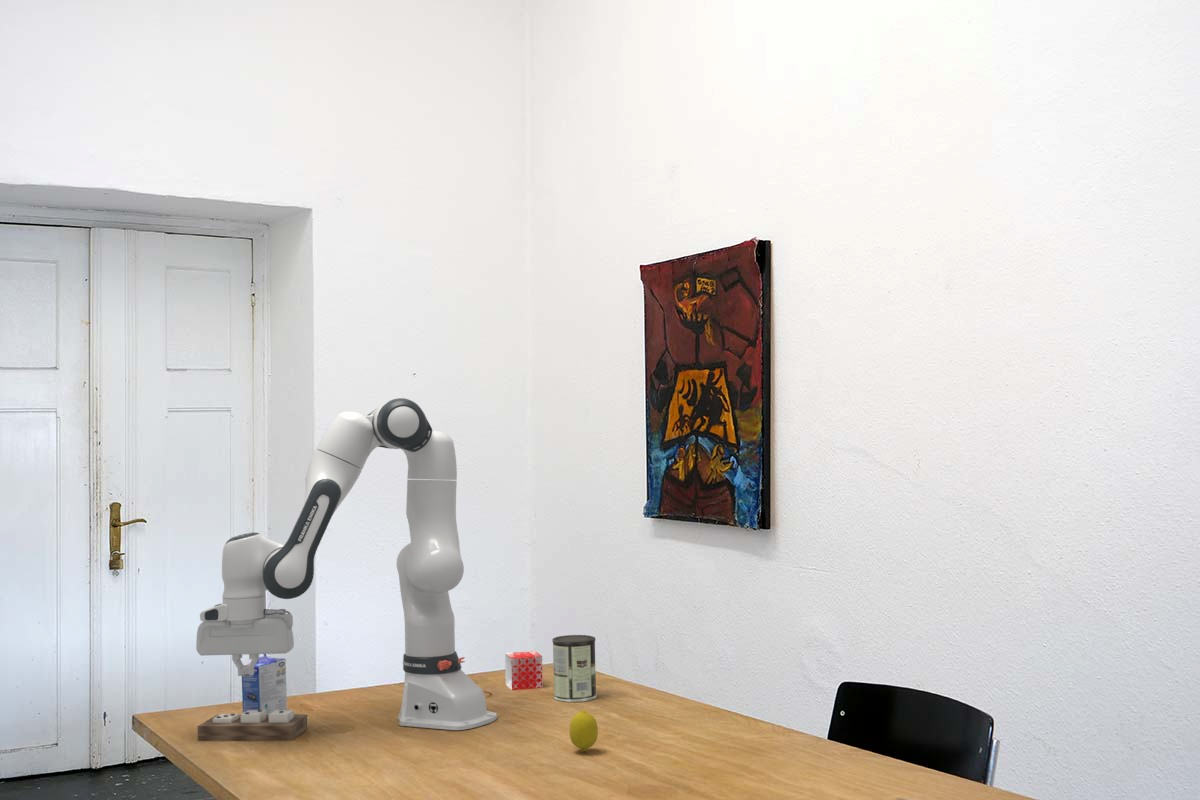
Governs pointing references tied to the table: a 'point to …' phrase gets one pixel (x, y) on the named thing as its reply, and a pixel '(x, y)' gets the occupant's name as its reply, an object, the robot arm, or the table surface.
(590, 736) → the lemon
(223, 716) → the button three
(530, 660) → the red and white cube
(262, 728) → the button panel
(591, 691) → the coffee can
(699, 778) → the table surface
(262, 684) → the ink cartridge box
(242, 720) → the button two
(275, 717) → the button one
